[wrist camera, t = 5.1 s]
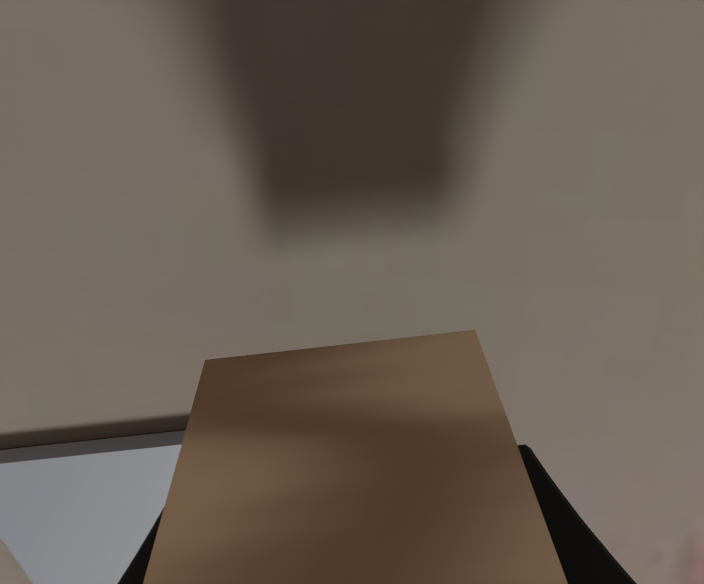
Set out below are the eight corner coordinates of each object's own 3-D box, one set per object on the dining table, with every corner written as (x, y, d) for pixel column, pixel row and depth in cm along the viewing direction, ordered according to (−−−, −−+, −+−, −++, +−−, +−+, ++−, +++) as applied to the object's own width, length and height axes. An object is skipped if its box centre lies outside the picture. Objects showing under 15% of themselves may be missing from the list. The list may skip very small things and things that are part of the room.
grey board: (92, 645, 25) (87, 660, 25) (-39, 453, 19) (-49, 468, 18) (368, 618, 25) (369, 633, 24) (331, 414, 18) (331, 428, 18)
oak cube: (258, 528, 13) (227, 804, 9) (205, 360, 11) (127, 641, 7) (474, 505, 13) (543, 776, 9) (475, 329, 11) (573, 596, 6)
